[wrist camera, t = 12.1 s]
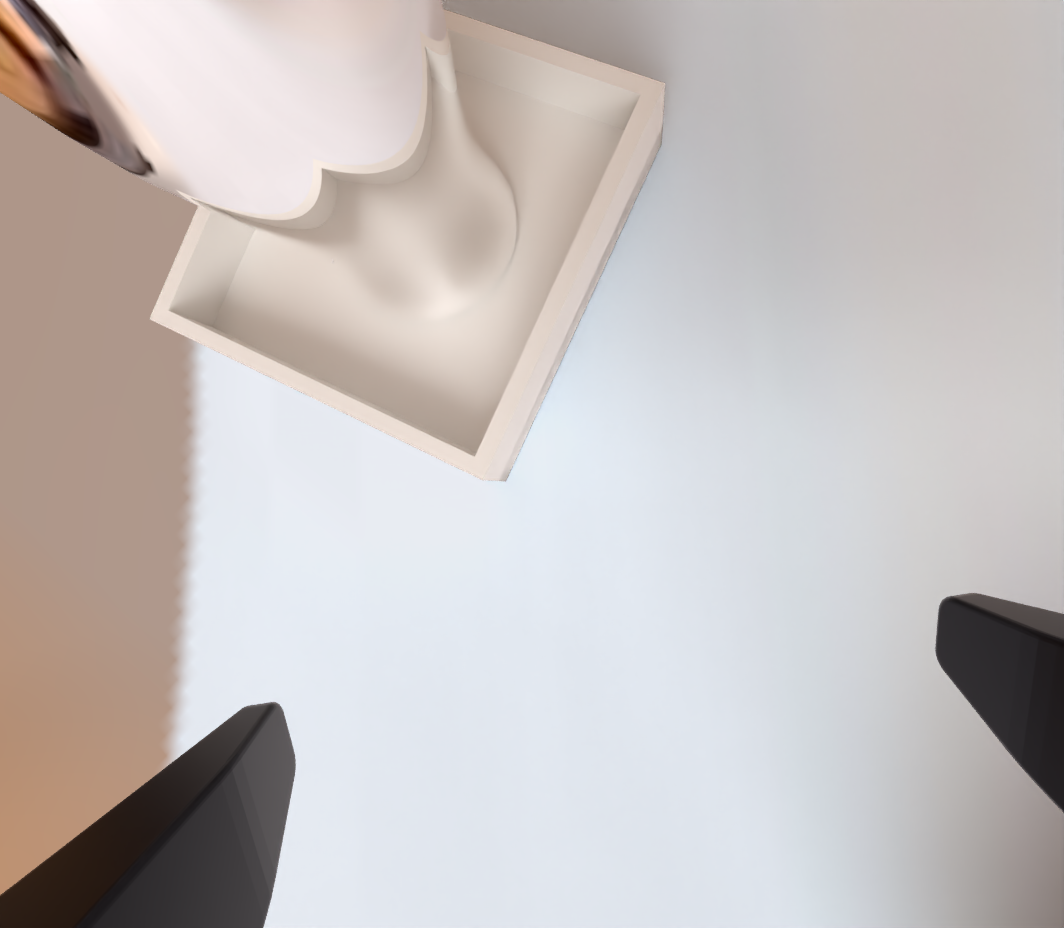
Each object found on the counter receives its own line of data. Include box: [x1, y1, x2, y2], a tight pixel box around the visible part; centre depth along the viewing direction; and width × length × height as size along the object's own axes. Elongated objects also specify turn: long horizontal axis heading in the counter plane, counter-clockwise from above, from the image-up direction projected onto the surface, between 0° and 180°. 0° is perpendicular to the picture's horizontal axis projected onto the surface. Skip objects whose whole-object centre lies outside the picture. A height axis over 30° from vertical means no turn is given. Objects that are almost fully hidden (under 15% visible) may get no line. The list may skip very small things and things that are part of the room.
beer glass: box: [0, 0, 517, 323], centre depth 12 cm, size 7×7×15 cm
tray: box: [150, 9, 665, 481], centre depth 19 cm, size 12×12×3 cm
